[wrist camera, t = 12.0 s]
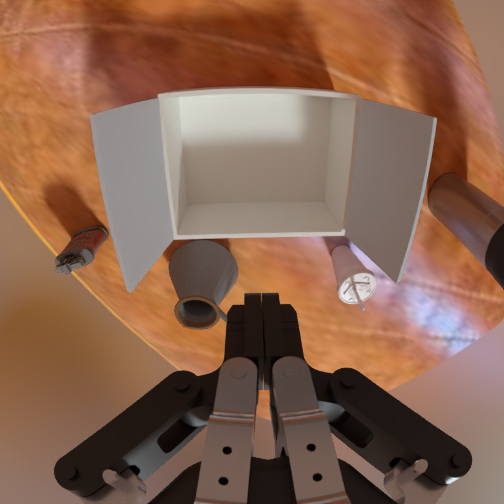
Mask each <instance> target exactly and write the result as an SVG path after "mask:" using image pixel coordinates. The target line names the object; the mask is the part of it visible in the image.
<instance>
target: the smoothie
mask: <svg viewBox="0 0 504 504" xmlns="http://www.w3.org/2000/svg"><path fill="white" fill-rule="evenodd" d="M331 258H332V262H333V267H334V271H335V276H336V280H337V293H338V295H339V297H340V299H341V300H342V301H343V302H345V303H348V304H357V303H359V305H360V308H361V310H362V311H365V307H364V305H363V303H362V302H363V301H365V300H366V299H368V298H369V297H370V296H371V295H372V294H373V293H374V291H375V289H376V286H377V281H376V278H375V276H374V274H373V273H372V272H371V271H370V270H368V269H367V268H366V267H365V266H364V265H363V264H362V262H361V261H360V260H359V259H358V258H357V256H356V255H355V254H354V253H353V252H352V250H351V249H350V248H349V247H348V246H346V245H340V246H337V247H336V248H335V249H334V250H333V251H332V253H331Z"/></svg>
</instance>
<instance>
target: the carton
mask: <svg viewBox="0 0 504 504" xmlns="http://www.w3.org/2000/svg"><path fill="white" fill-rule="evenodd" d="M158 98H159V105H160V119H161V132H162V144H163V154H164V164H165V173H166V182H167V191H168V199H169V207H170V214H171V221H172V228H173V235H174V240H179V239H213V238H252V237H301V236H344V235H345V229H346V223H347V217H348V210H349V203H350V196H351V189H352V181H353V173H354V165H355V156H356V147H357V137H358V126H359V113H360V99H361V95H357V94H352V93H347V92H342V91H337V90H328V89H316V88H302V87H281V86H228V87H207V88H193V89H181V90H173V91H169V92H165V93H160V94H158Z"/></svg>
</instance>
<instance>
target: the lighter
mask: <svg viewBox="0 0 504 504" xmlns="http://www.w3.org/2000/svg"><path fill="white" fill-rule="evenodd" d="M108 236H109V232H108V230H107V228H106V227H104V226H101V225H100V226H93V227H89V228H85V229H83V230H81V231H79V232H78V233H76V234H75V235H74V236H73V237H72V239H71V241H70V242H69V244H68V245H67V246H66V248H65V249H64V250H63V251H62V253H61V254H59V255H58V256H57V257H56V259H55V263H56V266H57V267H56V268H55V271H56V273H57V274H61V273H64V272H65V274H69V273H70V272H71V271H73V270H75V269H79V268H82V267H84V266H86V265H88V264H90V263H91V262H92V261H93V260H94V257H95V254H96V253H97V251H98V250H99V248H100V247H101V245H102V243H103V242H104V241H105V240H106V239H107V238H108Z"/></svg>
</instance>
